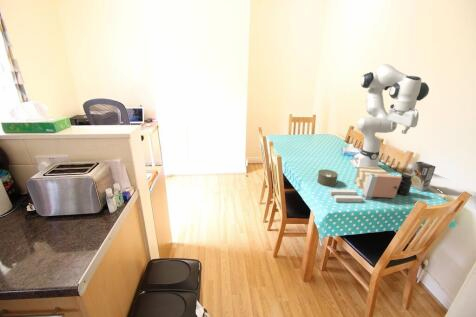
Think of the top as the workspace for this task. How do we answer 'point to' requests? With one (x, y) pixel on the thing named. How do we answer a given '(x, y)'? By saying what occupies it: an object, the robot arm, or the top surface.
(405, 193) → the supplement bottle
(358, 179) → the cabinet
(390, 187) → the door
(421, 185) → the coffee box
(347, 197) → the door stand
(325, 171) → the can
